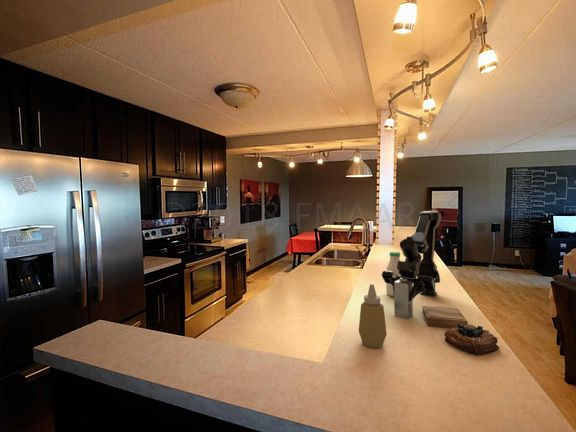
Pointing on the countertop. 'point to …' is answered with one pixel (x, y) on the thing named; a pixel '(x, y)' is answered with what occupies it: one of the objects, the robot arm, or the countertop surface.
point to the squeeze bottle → (372, 320)
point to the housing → (403, 298)
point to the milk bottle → (392, 267)
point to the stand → (443, 317)
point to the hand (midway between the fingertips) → (402, 299)
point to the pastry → (472, 339)
